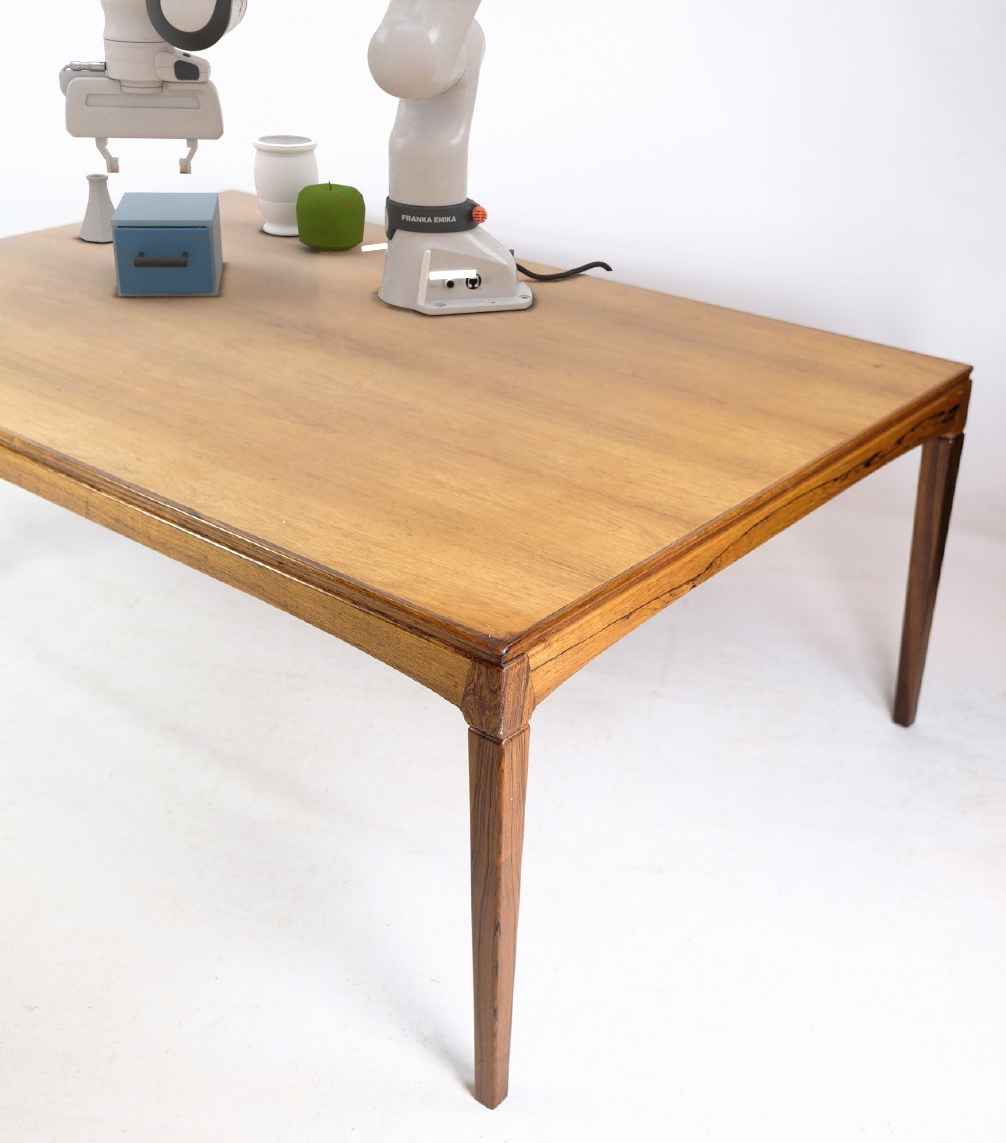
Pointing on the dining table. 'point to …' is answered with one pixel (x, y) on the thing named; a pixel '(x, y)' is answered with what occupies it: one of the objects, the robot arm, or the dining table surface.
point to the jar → (283, 178)
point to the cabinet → (172, 224)
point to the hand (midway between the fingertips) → (149, 172)
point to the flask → (98, 211)
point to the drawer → (163, 259)
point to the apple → (330, 217)
